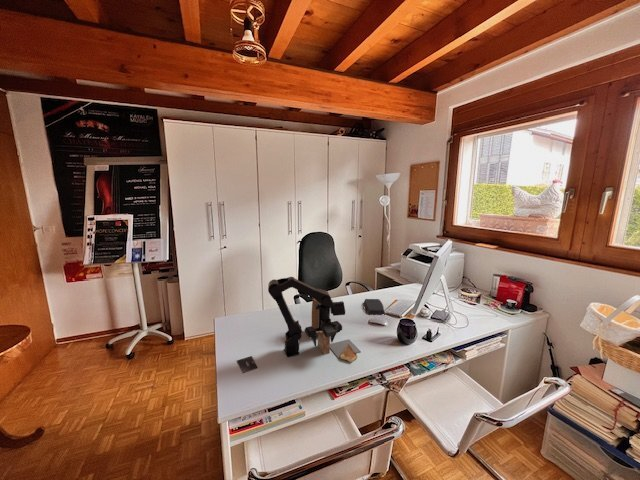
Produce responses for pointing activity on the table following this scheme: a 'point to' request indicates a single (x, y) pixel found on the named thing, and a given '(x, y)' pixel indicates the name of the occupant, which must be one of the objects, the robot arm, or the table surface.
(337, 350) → the mat
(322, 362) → the table surface
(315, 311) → the brown oblong lump
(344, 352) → the shard
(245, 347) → the table surface
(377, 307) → the external hard drive
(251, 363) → the solid state drive
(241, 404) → the table surface
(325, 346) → the slab
